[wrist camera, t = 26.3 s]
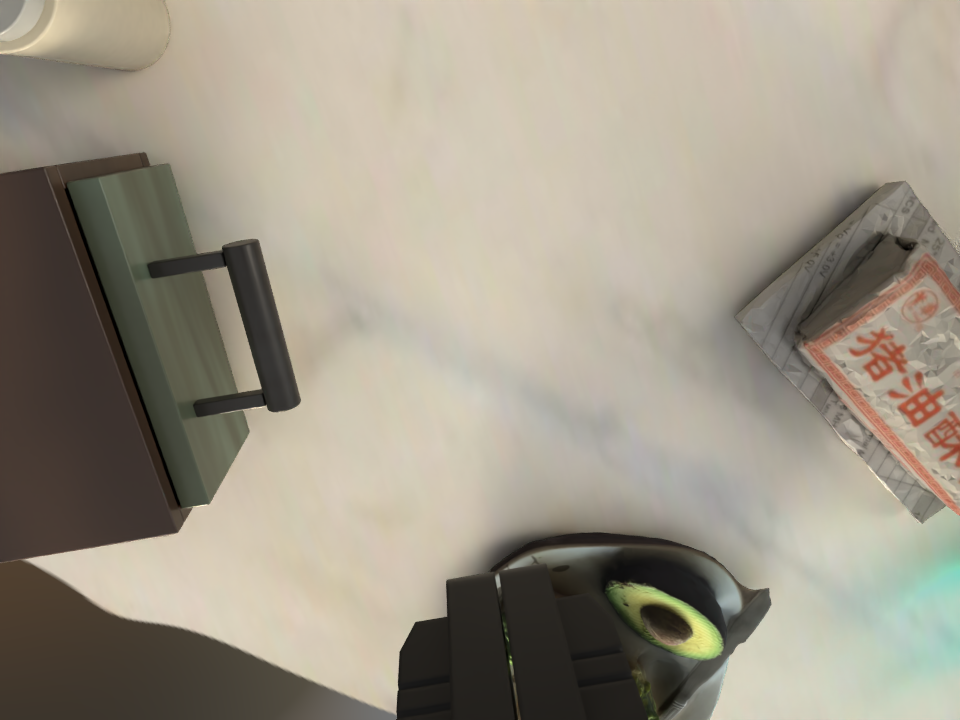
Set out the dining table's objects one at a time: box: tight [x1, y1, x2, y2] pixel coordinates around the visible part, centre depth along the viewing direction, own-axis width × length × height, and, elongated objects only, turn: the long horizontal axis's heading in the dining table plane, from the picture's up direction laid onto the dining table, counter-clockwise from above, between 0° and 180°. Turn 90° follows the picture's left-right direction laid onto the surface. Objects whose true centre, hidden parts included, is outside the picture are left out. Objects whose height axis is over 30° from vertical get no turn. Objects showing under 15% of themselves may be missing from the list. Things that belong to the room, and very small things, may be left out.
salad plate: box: [489, 533, 771, 720], centre depth 40 cm, size 19×18×5 cm
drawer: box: [66, 163, 301, 509], centre depth 29 cm, size 18×13×7 cm
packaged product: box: [735, 181, 960, 524], centre depth 34 cm, size 18×5×10 cm
